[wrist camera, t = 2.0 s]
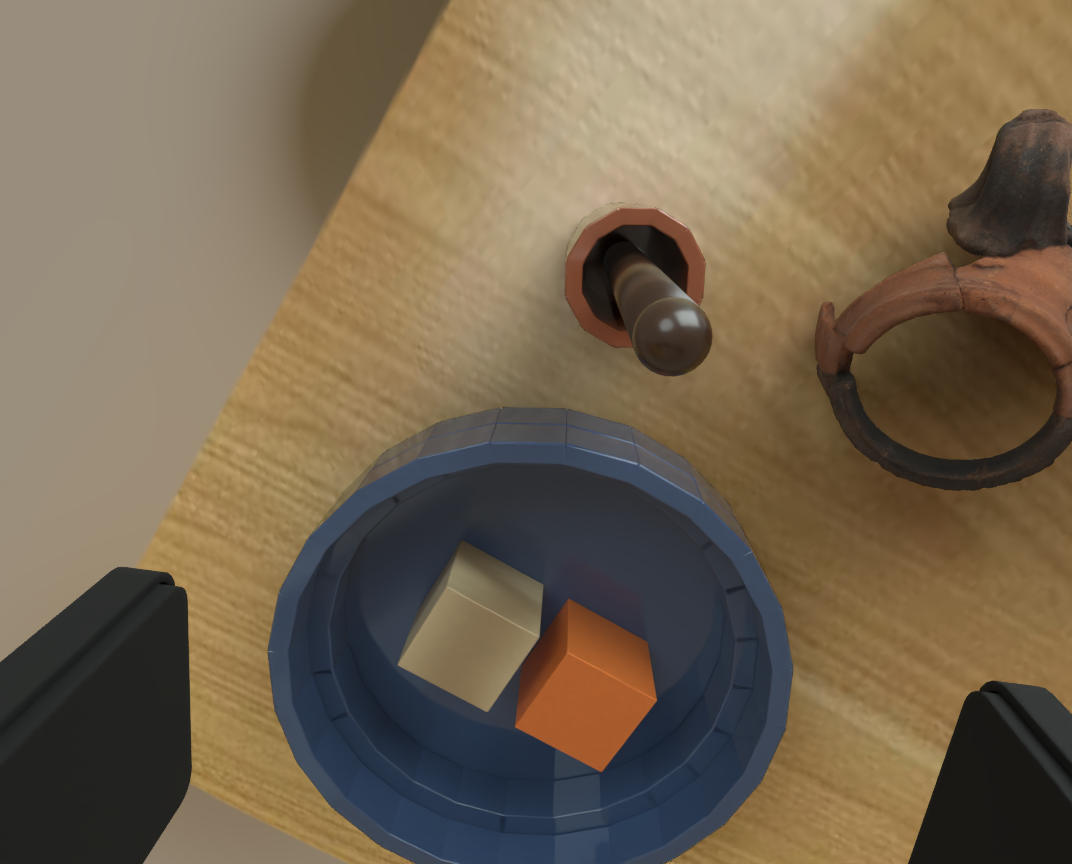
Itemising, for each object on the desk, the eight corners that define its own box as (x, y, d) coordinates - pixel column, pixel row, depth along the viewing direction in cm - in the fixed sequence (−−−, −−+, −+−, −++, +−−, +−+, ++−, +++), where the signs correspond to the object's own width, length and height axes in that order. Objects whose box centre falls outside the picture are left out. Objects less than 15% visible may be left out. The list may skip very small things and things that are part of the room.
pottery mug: (1084, 407, 30) (1096, 538, 24) (830, 379, 34) (788, 485, 28) (1178, 74, 24) (1226, 142, 18) (852, 92, 28) (803, 151, 22)
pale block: (417, 610, 33) (396, 665, 29) (461, 539, 32) (446, 586, 28) (497, 653, 33) (487, 713, 30) (544, 584, 32) (540, 637, 29)
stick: (595, 267, 28) (619, 357, 13) (615, 233, 28) (665, 287, 13) (627, 286, 28) (688, 399, 13) (648, 253, 28) (736, 330, 13)
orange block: (521, 666, 34) (514, 727, 30) (568, 597, 32) (567, 652, 29) (598, 707, 34) (601, 772, 30) (648, 641, 33) (657, 700, 29)
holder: (547, 277, 29) (539, 303, 22) (603, 181, 28) (612, 179, 21) (636, 331, 29) (655, 372, 23) (695, 239, 28) (732, 254, 22)
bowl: (242, 677, 35) (190, 753, 30) (443, 311, 30) (418, 335, 25) (604, 861, 37) (608, 959, 33) (854, 553, 32) (904, 618, 27)
